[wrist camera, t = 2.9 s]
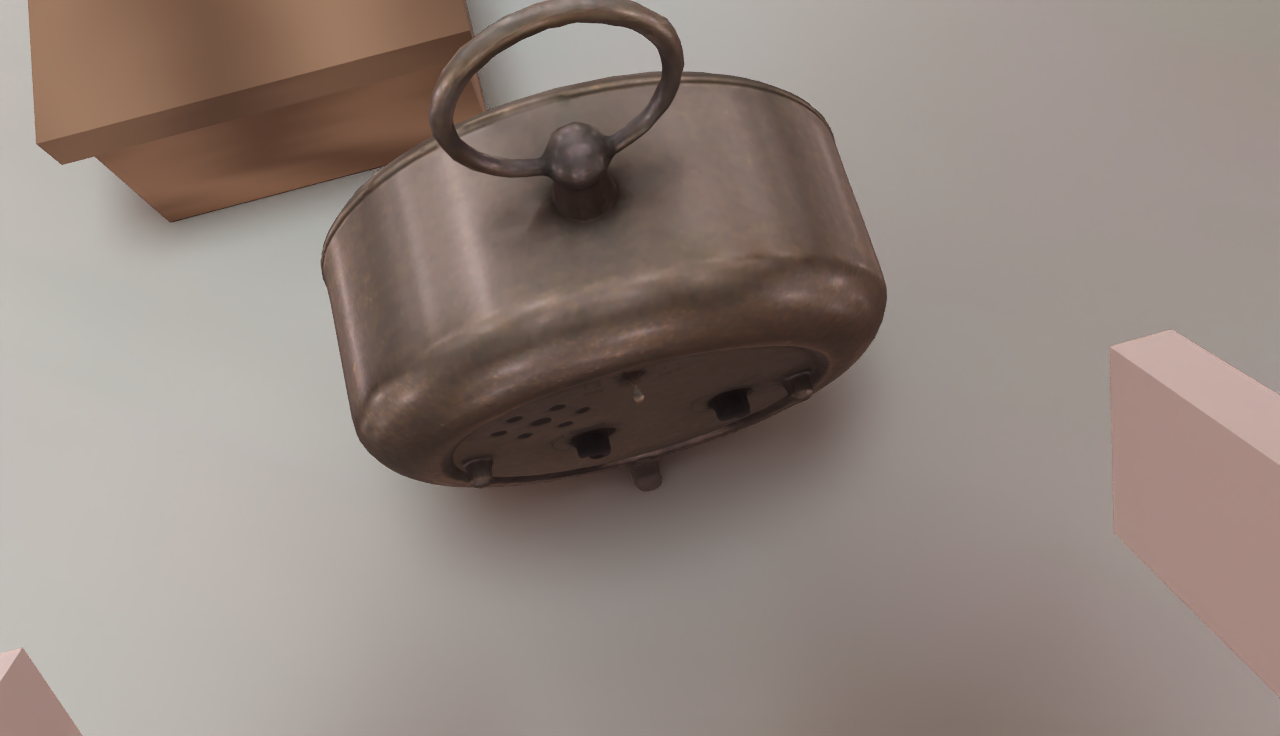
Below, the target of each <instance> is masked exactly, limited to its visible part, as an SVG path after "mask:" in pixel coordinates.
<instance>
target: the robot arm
mask: <svg viewBox="0 0 1280 736" xmlns="http://www.w3.org/2000/svg"><path fill="white" fill-rule="evenodd" d="M1109 348H1110V390H1111V433H1112V475H1113V518H1114V533H1115V534H1116V535H1117V536H1118V537H1119V538H1120V539H1121V540H1122V541H1123V542H1124V543H1125V544H1126V545H1127V546H1128V547H1129V548H1130V549H1131V550H1132V551H1133V552H1134V553H1135V554H1136V555H1137V556H1138V557H1139V558H1140V559H1141V560H1142V561H1143V562H1144V563H1145V564H1146V565H1147V566H1148V567H1149V568H1150V569H1151V570H1152V571H1153V572H1154V573H1155V574H1156V575H1157V576H1158V577H1159V578H1160V579H1161V580H1162V581H1163V582H1164V583H1165V584H1166V585H1167V586H1168V587H1169V588H1170V589H1171V590H1172V591H1173V592H1174V593H1175V594H1176V595H1177V596H1178V597H1179V598H1180V599H1181V600H1182V601H1183V602H1184V603H1185V604H1186V605H1187V606H1188V607H1189V608H1190V609H1191V610H1192V611H1193V612H1194V613H1195V614H1196V615H1197V616H1198V617H1199V618H1200V619H1201V620H1202V621H1203V622H1204V623H1205V624H1206V625H1207V626H1208V627H1209V628H1210V629H1211V630H1212V631H1213V632H1214V633H1215V634H1216V635H1217V636H1218V637H1219V638H1220V639H1221V640H1222V641H1223V642H1224V643H1225V644H1226V645H1227V646H1228V647H1229V648H1230V649H1231V650H1232V651H1233V652H1234V653H1235V654H1236V655H1237V656H1238V657H1239V658H1240V659H1241V660H1242V661H1243V662H1244V663H1245V664H1246V665H1247V666H1248V667H1249V668H1250V669H1251V670H1252V671H1253V672H1254V673H1255V674H1256V675H1257V676H1258V677H1259V678H1260V679H1261V680H1262V681H1263V682H1264V683H1265V684H1266V685H1267V686H1268V687H1269V688H1270V689H1271V690H1272V691H1273V692H1274V693H1275V694H1276V695H1277V696H1278V697H1279V698H1280V395H1279V394H1277V393H1275V392H1274V391H1272V390H1270V389H1269V388H1267V387H1265V386H1264V385H1262V384H1261V383H1259V382H1257V381H1256V380H1254V379H1252V378H1251V377H1249V376H1247V375H1246V374H1244V373H1242V372H1241V371H1239V370H1238V369H1236V368H1234V367H1233V366H1231V365H1229V364H1228V363H1226V362H1224V361H1223V360H1221V359H1219V358H1218V357H1216V356H1215V355H1213V354H1211V353H1210V352H1208V351H1206V350H1205V349H1203V348H1201V347H1200V346H1198V345H1196V344H1195V343H1193V342H1191V341H1190V340H1188V339H1187V338H1185V337H1183V336H1182V335H1180V334H1178V333H1177V332H1175V331H1173V330H1172V329H1171V330H1167V331H1163V332H1160V333H1156V334H1153V335H1149V336H1145V337H1142V338H1138V339H1135V340H1131V341H1127V342H1124V343H1120V344H1116V345H1113V346H1109ZM0 736H82V734H81V733H80V731H79V730H78V728H77V727H76V725H75V724H74V722H73V721H72V719H71V718H70V716H69V715H68V713H67V712H66V711H65V709H64V708H63V706H62V705H61V703H60V702H59V700H58V699H57V697H56V696H55V694H54V693H53V691H52V690H51V688H50V687H49V685H48V684H47V683H46V681H45V680H44V678H43V677H42V675H41V674H40V672H39V671H38V669H37V668H36V666H35V665H34V663H33V662H32V660H31V659H30V658H29V656H28V655H27V653H26V652H25V650H24V649H23V647H22V648H19V649H15V650H11V651H8V652H4V653H1V654H0Z"/></svg>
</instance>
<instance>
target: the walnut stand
mask: <svg viewBox="0 0 1280 736" xmlns="http://www.w3.org/2000/svg"><path fill="white" fill-rule="evenodd" d="M28 10H29V27H30V44H31V61H32V78H33V95H34V113H35V130H36V144H37V145H38V146H40V147H41V148H42V149H43V150H44V151H46V152H47V153H48V154H49V155H51V156H52V157H53V158H54V159H55V160H57V161H58V162H59V163H60V164H62V165H63V164H67V163H71V162H75V161H79V160H82V159H86V158H90V157H94V156H95V157H96V158H97V159H98V160H99V161H100V162H102V163H103V164H104V165H105V166H106V167H107V168H108V169H110V170H111V171H112V172H113V173H114V174H115V175H116V176H118V177H119V178H120V179H121V180H122V181H123V182H125V183H126V184H127V185H128V186H129V187H130V188H131V189H133V190H134V191H135V192H136V193H137V194H138V195H139V196H141V197H142V198H143V199H144V200H145V201H146V202H147V203H149V204H150V205H151V206H152V207H153V208H154V209H155V210H157V211H158V212H159V213H160V214H161V215H162V216H163V217H165V218H166V219H167V220H168V221H169V222H172V221H176V220H180V219H184V218H187V217H191V216H195V215H199V214H203V213H206V212H210V211H214V210H218V209H222V208H225V207H229V206H233V205H237V204H240V203H244V202H248V201H252V200H256V199H259V198H263V197H267V196H271V195H275V194H278V193H282V192H286V191H290V190H293V189H297V188H301V187H305V186H309V185H312V184H316V183H320V182H324V181H328V180H331V179H335V178H339V177H343V176H346V175H350V174H354V173H358V172H362V171H365V170H369V169H373V168H377V167H381V166H384V165H388V164H389V163H390V162H392V161H393V160H395V159H396V158H398V157H399V156H401V155H402V154H404V153H405V152H407V151H409V150H410V149H412V148H413V147H415V146H416V145H418V144H420V143H421V142H423V141H425V140H427V139H429V138H431V137H432V136H433V134H432V131H431V127H430V123H429V115H428V112H429V108H430V104H431V94H432V92H433V90H434V88H435V86H436V84H437V82H438V80H439V77H440V75H441V73H442V71H443V69H444V68H445V67H446V65H447V64H448V63H449V62H450V60H451V59H452V58H453V56H454V55H455V54H456V53H457V51H458V50H459V49H460V48H461V47H462V46H463V45H465V44H466V43H467V42H469V41H470V40H471V39H473V38H474V33H473V29H472V25H471V21H470V17H469V12H468V8H467V4H466V0H28ZM483 112H486V107H485V103H484V99H483V95H482V91H481V87H480V83H479V78H478V74H477V72H476V73H475V74H474V75H473V77H472V78H471V79H470V81H469V82H468V83H467V85H466V86H465V88H464V90H463V92H462V93H461V95H460V97H459V99H458V101H457V104H456V107H455V111H454V115H453V123H454V125H456V124H458V123H460V122H462V121H465V120H467V119H469V118H471V117H474V116H476V115H478V114H481V113H483Z"/></svg>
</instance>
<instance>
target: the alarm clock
mask: <svg viewBox="0 0 1280 736" xmlns="http://www.w3.org/2000/svg"><path fill="white" fill-rule="evenodd" d="M576 22H579V23H603V24H608V25H613V26H622V27H626V28H629V29H632V30H634V31H636V32H638V33H640V34H642V35H643V36H644V37H646V38H647V39H648V40H649V41H651V42H652V43H653V44H654V45H655V46H656V47H657V49H658V51H659V54H660V57H661V62H662V72H646V73H639V74H631V75H622V76H613V77H608V78H603V79H598V80H593V81H588V82H583V83H578V84H574V85H569V86H564V87H559V88H555V89H552V90H548V91H545V92H542V93H538V94H535V95H532V96H528V97H525V98H522V99H519V100H516V101H513V102H510V103H507V104H503V105H501V106H498V107H496V108H493V109H491V110H488V111H486V112H483V113H481V114H478V115H476V116H474V117H471V118H469V119H467V120H465V121H462V122H460V123H458V124H456V125H454V123H453V115H454V111H455V107H456V104H457V101H458V99H459V97H460V95H461V93H462V92H463V90H464V88H465V86H466V85H467V83H468V82H469V81H470V79H471V78H472V77H473V75H474V74H475V73H476V72H477V71H478V70H480V69H481V68H482V67H483V66H484V65H485V64H486V63H487V62H488V61H489V60H490V59H491V58H492V57H494V56H495V55H497V54H498V53H500V52H502V51H503V50H505V49H507V48H509V47H510V46H512V45H514V44H516V43H517V42H519V41H521V40H523V39H525V38H527V37H530V36H532V35H535V34H537V33H539V32H542V31H544V30H546V29H548V28H556V27H561V26H564V25H567V24H571V23H576ZM683 68H684V57H683V50H682V46H681V42H680V39H679V37H678V35H677V33H676V30H675V29H674V27H673V26H672V25H671V23H670V22H669V21H668V19H667V18H665V17H663V16H661V15H659V14H657V13H656V12H654V11H652V10H650V9H648V8H646V7H644V6H642V5H640V4H638V3H636V2H633V1H630V0H548V1H544V2H539V3H536V4H534V5H531V6H529V7H526V8H524V9H522V10H519V11H517V12H514V13H512V14H510V15H507V16H505V17H503V18H502V19H500V20H498V21H497V22H495V23H493V24H492V25H490V26H489V27H487V28H486V29H485V30H483V31H482V32H481V33H479V34H478V35H476V36H475V37H474V38H473V39H471V40H470V41H469V42H467V43H466V44H465V45H463V46H462V47H461V48H460V49H459V50H458V51H457V53H456V54H455V55H454V56H453V58H452V59H451V60H450V62H449V63H448V64H447V65H446V67H445V68H444V69H443V71H442V73H441V75H440V77H439V80H438V82H437V84H436V86H435V88H434V90H433V92H432V94H431V104H430V108H429V112H428V115H429V123H430V127H431V131H432V134H433V136H432V137H431V138H429V139H427V140H425V141H423V142H421V143H420V144H418V145H416V146H415V147H413V148H412V149H410V150H409V151H407V152H405V153H404V154H402V155H401V156H399V157H398V158H396V159H395V160H393V161H392V162H390V163H389V164H388V165H386V166H385V167H383V168H382V169H381V170H379V171H378V172H377V173H375V174H374V175H373V176H372V177H371V178H370V179H369V180H368V181H367V182H366V183H365V184H364V185H362V186H361V187H360V188H359V189H358V190H357V191H356V192H355V194H354V195H353V197H352V198H351V199H350V200H349V201H348V202H347V204H346V205H345V207H344V208H343V209H342V211H341V212H340V214H339V215H338V217H337V218H336V219H335V221H334V223H333V225H332V226H331V228H330V230H329V232H328V234H327V237H326V239H325V242H324V245H323V251H322V258H321V269H322V275H323V280H324V282H325V284H326V287H327V290H328V294H329V298H330V302H331V307H332V313H333V318H334V323H335V329H336V334H337V340H338V345H339V351H340V356H341V362H342V367H343V373H344V378H345V383H346V389H347V394H348V399H349V405H350V410H351V415H352V420H353V423H354V426H355V430H356V433H357V436H358V438H359V440H360V442H361V443H362V444H363V445H364V447H365V448H366V449H367V451H368V452H369V453H370V454H371V455H373V456H374V457H375V458H376V459H377V460H378V461H379V462H381V463H382V464H383V465H385V466H386V467H388V468H389V469H391V470H393V471H395V472H397V473H399V474H401V475H403V476H406V477H409V478H412V479H415V480H418V481H422V482H426V483H431V484H436V485H444V486H451V487H475V488H484V487H500V486H514V485H522V484H530V483H538V482H547V481H553V480H559V479H565V478H570V477H575V476H580V475H585V474H590V473H595V472H600V471H605V470H609V469H613V468H617V467H620V466H630V469H631V473H632V476H633V479H634V482H635V484H636V486H638V487H639V488H640V489H641V490H643V491H651V490H654V489H656V488H657V487H658V486H659V485H660V484H661V475H660V470H659V465H658V459H659V458H660V457H662V456H663V455H666V454H670V453H673V452H676V451H680V450H683V449H686V448H689V447H692V446H695V445H698V444H701V443H704V442H707V441H710V440H713V439H716V438H719V437H722V436H725V435H728V434H730V433H733V432H735V431H738V430H740V429H743V428H745V427H748V426H750V425H752V424H755V423H757V422H759V421H762V420H764V419H766V418H768V417H770V416H772V415H774V414H777V413H779V412H781V411H783V410H785V409H787V408H789V407H791V406H793V405H795V404H797V403H800V402H802V401H805V400H807V399H809V398H810V397H811V395H812V394H814V393H816V392H817V391H819V390H820V389H822V388H823V387H825V386H826V385H828V384H829V383H830V382H832V381H833V380H835V379H836V378H838V377H839V376H840V375H841V374H843V373H844V372H845V371H846V370H847V369H849V368H850V367H851V366H852V365H853V364H854V363H855V362H856V361H857V360H858V359H859V358H860V357H861V355H862V354H863V353H864V352H865V351H866V349H867V348H868V347H869V345H870V344H871V342H872V341H873V339H874V338H875V336H876V334H877V332H878V329H879V327H880V325H881V323H882V320H883V316H884V311H885V307H886V300H887V290H886V284H885V281H884V277H883V274H882V271H881V268H880V265H879V262H878V259H877V256H876V254H875V251H874V248H873V246H872V243H871V240H870V237H869V234H868V232H867V229H866V226H865V223H864V221H863V218H862V215H861V213H860V210H859V207H858V205H857V202H856V199H855V197H854V194H853V191H852V189H851V186H850V183H849V181H848V178H847V175H846V172H845V170H844V167H843V164H842V161H841V158H840V155H839V153H838V150H837V147H836V144H835V140H834V136H833V133H832V131H831V128H830V127H829V125H828V123H827V122H826V120H825V118H824V117H823V116H822V115H821V114H820V113H819V112H818V111H817V110H816V109H814V108H813V107H812V106H811V105H810V104H809V103H808V102H806V101H805V100H803V99H802V98H800V97H798V96H796V95H794V94H792V93H790V92H788V91H785V90H782V89H780V88H777V87H775V86H772V85H768V84H765V83H762V82H759V81H755V80H750V79H747V78H742V77H736V76H730V75H721V74H711V73H704V72H683Z"/></svg>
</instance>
